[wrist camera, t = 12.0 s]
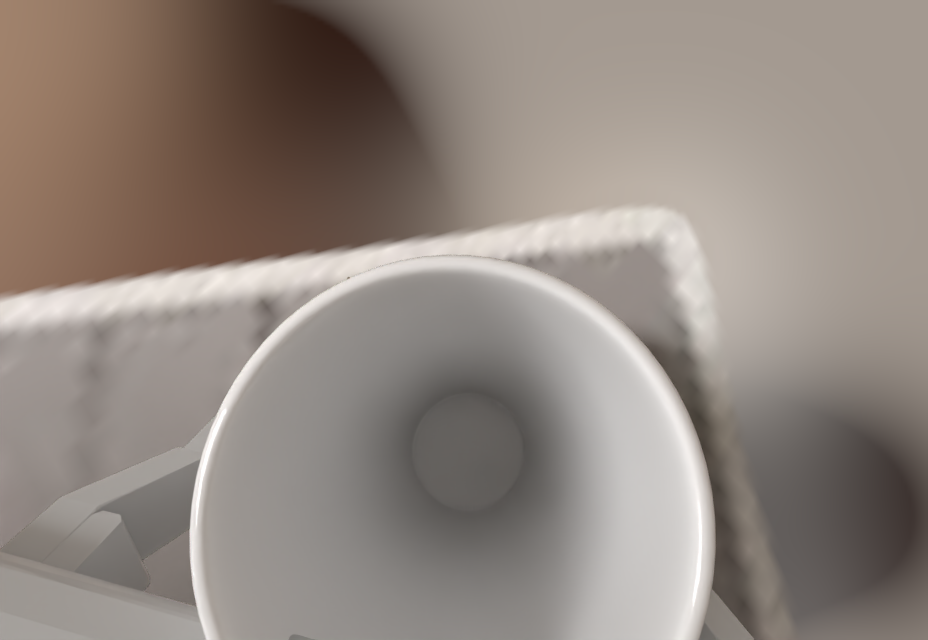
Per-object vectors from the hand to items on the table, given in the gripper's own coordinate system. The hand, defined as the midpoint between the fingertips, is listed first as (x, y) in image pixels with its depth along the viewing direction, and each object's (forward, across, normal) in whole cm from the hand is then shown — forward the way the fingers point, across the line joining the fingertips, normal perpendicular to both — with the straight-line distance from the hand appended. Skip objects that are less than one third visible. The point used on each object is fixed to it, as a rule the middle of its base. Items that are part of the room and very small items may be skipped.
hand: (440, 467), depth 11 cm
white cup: (+7, 0, +6) cm, 9 cm away
